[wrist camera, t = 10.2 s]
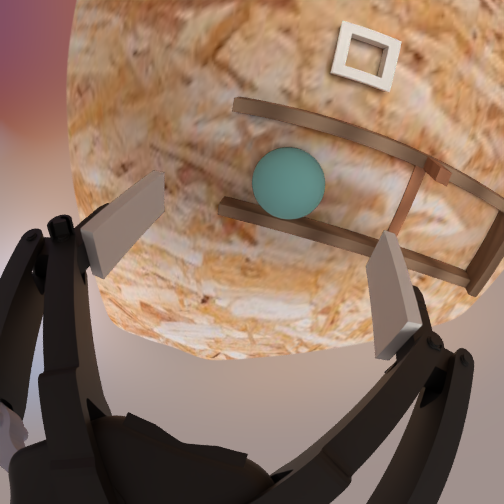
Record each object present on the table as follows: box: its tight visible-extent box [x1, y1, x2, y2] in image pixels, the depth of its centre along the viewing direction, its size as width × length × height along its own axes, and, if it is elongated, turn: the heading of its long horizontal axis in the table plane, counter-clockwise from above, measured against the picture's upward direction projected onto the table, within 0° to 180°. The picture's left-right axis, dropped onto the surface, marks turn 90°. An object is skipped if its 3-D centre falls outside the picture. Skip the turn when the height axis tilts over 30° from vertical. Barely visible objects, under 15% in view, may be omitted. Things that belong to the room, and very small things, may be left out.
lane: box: [218, 97, 504, 297], centre depth 21 cm, size 31×11×5 cm, turn 80°
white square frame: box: [330, 21, 401, 92], centre depth 16 cm, size 5×5×2 cm
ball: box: [252, 147, 325, 219], centre depth 22 cm, size 6×6×6 cm
